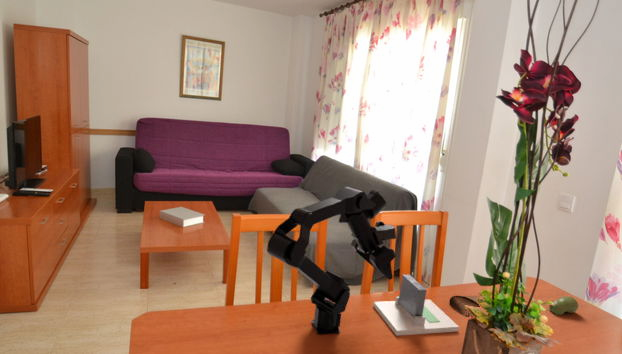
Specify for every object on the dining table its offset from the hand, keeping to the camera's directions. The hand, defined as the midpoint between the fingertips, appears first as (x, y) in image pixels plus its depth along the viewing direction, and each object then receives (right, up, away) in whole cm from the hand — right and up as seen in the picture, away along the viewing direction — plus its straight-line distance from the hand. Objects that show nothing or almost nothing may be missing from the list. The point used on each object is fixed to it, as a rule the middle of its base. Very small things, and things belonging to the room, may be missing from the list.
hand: (384, 273), depth 119 cm
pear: (+64, -18, +21) cm, 70 cm away
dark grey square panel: (+9, -13, +5) cm, 16 cm away
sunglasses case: (+34, -16, +17) cm, 42 cm away
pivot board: (+10, -15, +6) cm, 19 cm away
